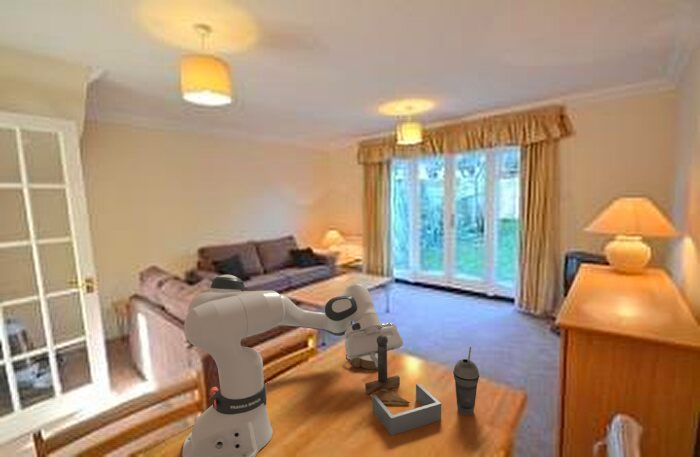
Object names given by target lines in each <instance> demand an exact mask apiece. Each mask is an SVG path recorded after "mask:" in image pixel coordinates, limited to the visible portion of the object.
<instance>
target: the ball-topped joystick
mask: <svg viewBox="0 0 700 457" xmlns="http://www.w3.org/2000/svg"><path fill="white" fill-rule="evenodd" d="M387 343H388V339H387V337H386V336H385V335H379V336H378V337H377V344H378V369H377V380H374V381H369V382H365V383H364V385H365V386H364V389H365V390H364V391H365V392H364V393H366V395H370V394H372V393H374V392H376V391H378V390H380V389H388V390H389V389H391V388H396V387H400V386H401V382H400V381H401V380H400V379H401V377H400V376H399V375H394V376H390V377H388V351H387Z"/></svg>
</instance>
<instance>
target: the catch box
mask: <svg viewBox="0 0 700 457" xmlns="http://www.w3.org/2000/svg"><path fill="white" fill-rule="evenodd" d="M371 399H372V413H373V414H374V415H375V416H376V418H377V419H378V421H379V422H380V423H381V424H382V425H383V427H384V428H385V429H386V430H387V432H388V433H389V435H390V436H395V435H399V434H402V433H404V432H409V431H410V430H414V429H418V428H421V427H424V426H427V425H429V424H433V423H435V422H439V421H442V402H440V401H439V400H438V399H437V398H436V397H435V396H434V395H433V394H431V393H430V392H429V391H428V390H427V389H426V388H425V387H424V386H423V385H422V384H420V383H415V399H416V401H417V402H419V404H421V406H420V407H416V408H413V409H412V408H411V409H410V410H409V409H408V410H405V411H403V412H399V413H395V414H392V413H391V411H390V410H389V409H388V408H387V406H386V404H383V403H382V402H381V401H380V399H379V398H378V397H377V396H376V395H372V397H371Z"/></svg>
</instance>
